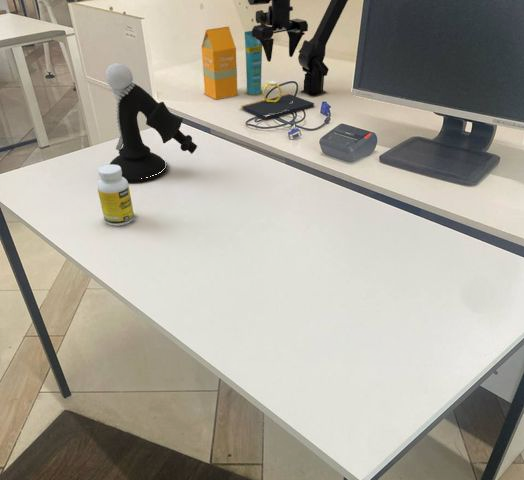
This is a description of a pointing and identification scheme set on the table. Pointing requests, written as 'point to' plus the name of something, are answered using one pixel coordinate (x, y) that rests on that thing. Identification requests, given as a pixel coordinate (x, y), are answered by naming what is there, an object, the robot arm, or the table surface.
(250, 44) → the tube
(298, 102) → the dark rectangular board
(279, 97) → the watch
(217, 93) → the orange juice
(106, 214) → the pill bottle
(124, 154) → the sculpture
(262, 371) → the table surface
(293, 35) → the robot arm
